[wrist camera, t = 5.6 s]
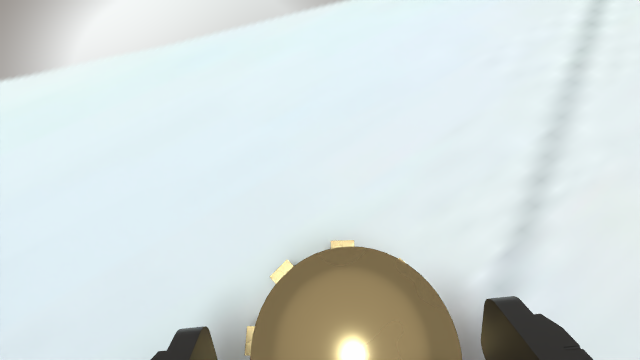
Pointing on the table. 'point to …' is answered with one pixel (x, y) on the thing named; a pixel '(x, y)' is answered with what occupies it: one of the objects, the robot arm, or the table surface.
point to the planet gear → (352, 311)
